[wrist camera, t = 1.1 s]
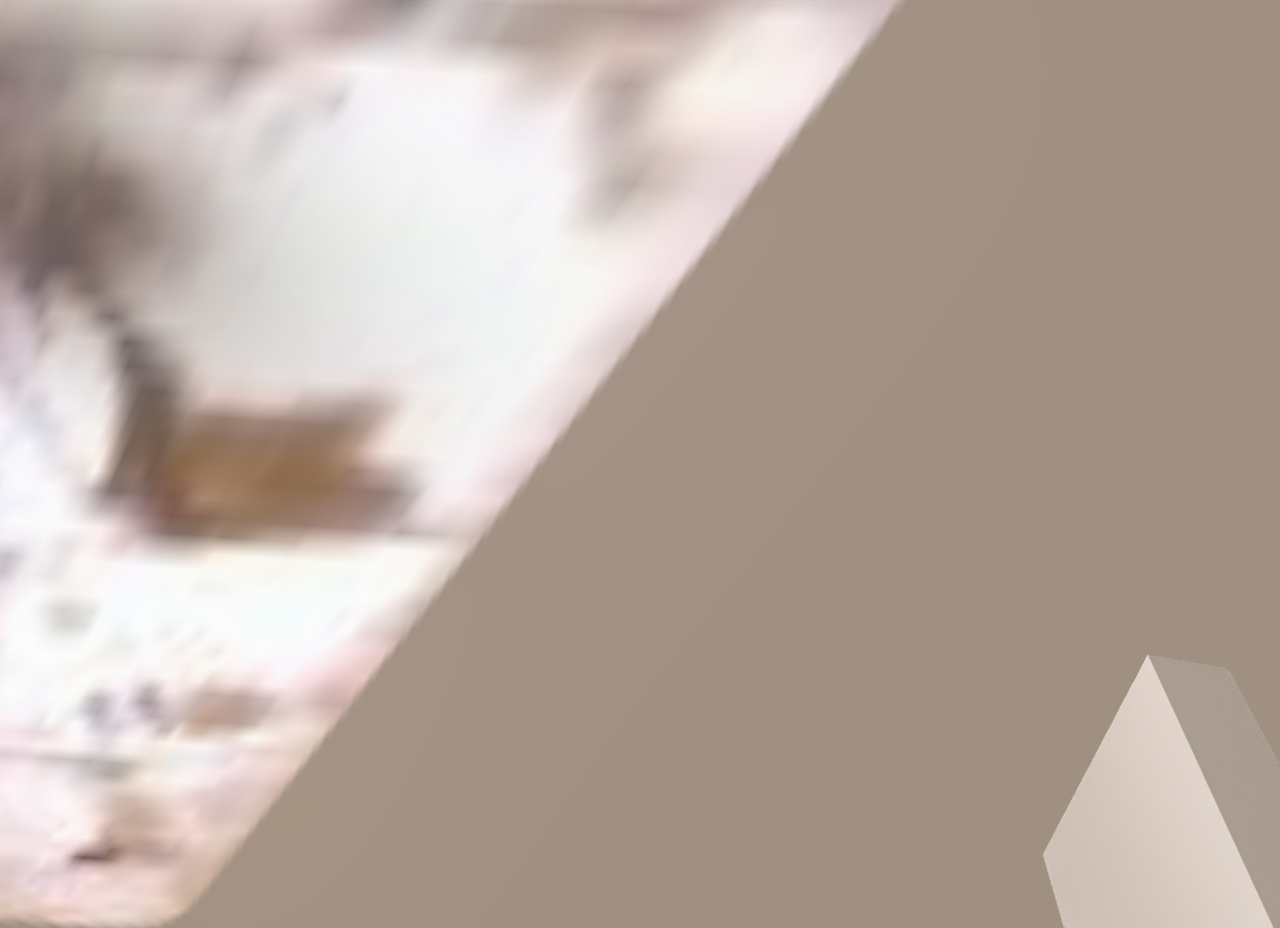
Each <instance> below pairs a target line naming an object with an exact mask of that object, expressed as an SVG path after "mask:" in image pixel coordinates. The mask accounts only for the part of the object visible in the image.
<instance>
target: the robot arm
mask: <svg viewBox="0 0 1280 928" xmlns="http://www.w3.org/2000/svg"><path fill="white" fill-rule="evenodd" d="M1043 856H1044V860H1045V863H1046V866H1047V870H1048V874H1049V877H1050V881H1051V884H1052V888H1053V891H1054V895H1055V898H1056V902H1057V905H1058V908H1059V912H1060V916H1061V919H1062V922H1063V926H1064V928H1280V764H1279V763H1278V761H1277V759H1276V757H1275V755H1274V753H1273V751H1272V750H1271V748H1270V746H1269V744H1268V742H1267V740H1266V738H1265V737H1264V735H1263V733H1262V731H1261V729H1260V727H1259V725H1258V724H1257V722H1256V720H1255V718H1254V716H1253V714H1252V712H1251V711H1250V709H1249V707H1248V705H1247V703H1246V701H1245V699H1244V697H1243V696H1242V694H1241V692H1240V690H1239V688H1238V686H1237V685H1236V683H1235V681H1234V679H1233V677H1232V675H1231V673H1230V671H1229V670H1228V669H1226V668H1220V667H1215V666H1209V665H1203V664H1197V663H1192V662H1186V661H1181V660H1175V659H1169V658H1163V657H1158V656H1152V655H1148V656H1147V658H1146V659H1145V661H1144V663H1143V665H1142V667H1141V669H1140V671H1139V673H1138V675H1137V677H1136V679H1135V680H1134V682H1133V684H1132V686H1131V688H1130V690H1129V692H1128V694H1127V696H1126V698H1125V699H1124V701H1123V703H1122V705H1121V707H1120V709H1119V711H1118V713H1117V715H1116V717H1115V719H1114V720H1113V722H1112V724H1111V726H1110V728H1109V730H1108V732H1107V734H1106V736H1105V738H1104V740H1103V741H1102V743H1101V745H1100V747H1099V749H1098V751H1097V753H1096V755H1095V756H1094V758H1093V760H1092V762H1091V764H1090V766H1089V768H1088V770H1087V772H1086V774H1085V775H1084V778H1083V779H1082V781H1081V783H1080V785H1079V787H1078V789H1077V791H1076V793H1075V795H1074V796H1073V798H1072V801H1071V802H1070V804H1069V806H1068V808H1067V810H1066V812H1065V814H1064V815H1063V818H1062V819H1061V821H1060V823H1059V825H1058V827H1057V829H1056V831H1055V833H1054V835H1053V836H1052V838H1051V840H1050V842H1049V844H1048V846H1047V848H1046V850H1045V852H1044V854H1043Z"/></svg>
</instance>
